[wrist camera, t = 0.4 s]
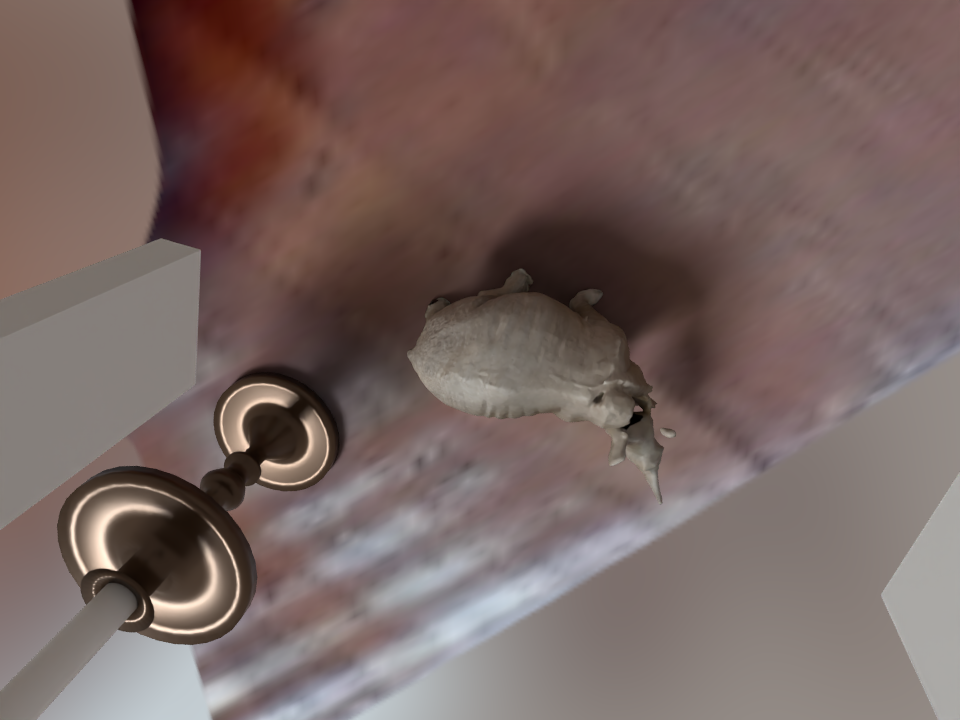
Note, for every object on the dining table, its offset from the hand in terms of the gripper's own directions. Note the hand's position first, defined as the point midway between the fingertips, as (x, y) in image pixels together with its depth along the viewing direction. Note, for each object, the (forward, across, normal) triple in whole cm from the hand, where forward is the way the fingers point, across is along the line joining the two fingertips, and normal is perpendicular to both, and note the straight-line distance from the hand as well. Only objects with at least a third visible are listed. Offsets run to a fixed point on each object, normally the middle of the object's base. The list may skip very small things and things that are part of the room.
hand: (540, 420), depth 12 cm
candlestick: (+29, -17, -23) cm, 40 cm away
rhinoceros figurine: (+29, 0, -10) cm, 30 cm away
